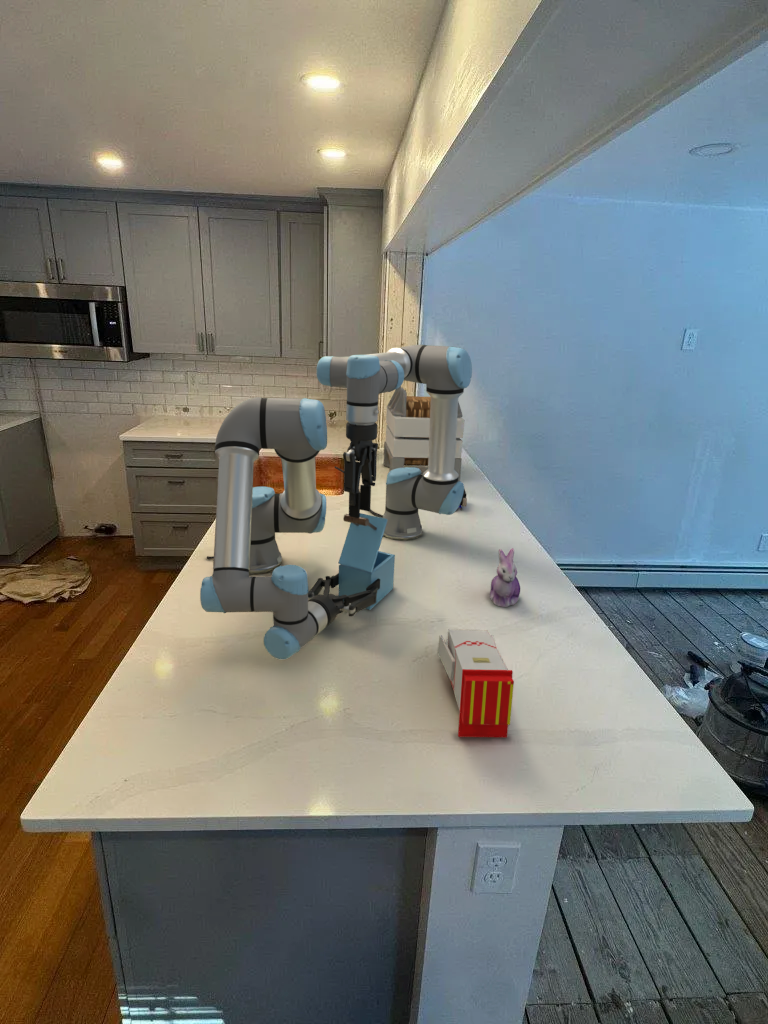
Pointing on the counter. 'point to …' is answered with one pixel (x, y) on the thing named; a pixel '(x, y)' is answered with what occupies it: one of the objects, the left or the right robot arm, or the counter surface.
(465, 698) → the toy
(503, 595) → the figurine
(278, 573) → the left robot arm
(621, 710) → the counter surface
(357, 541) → the lid
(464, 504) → the figurine character
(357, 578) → the chest
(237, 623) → the counter surface
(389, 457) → the white wooden crate
